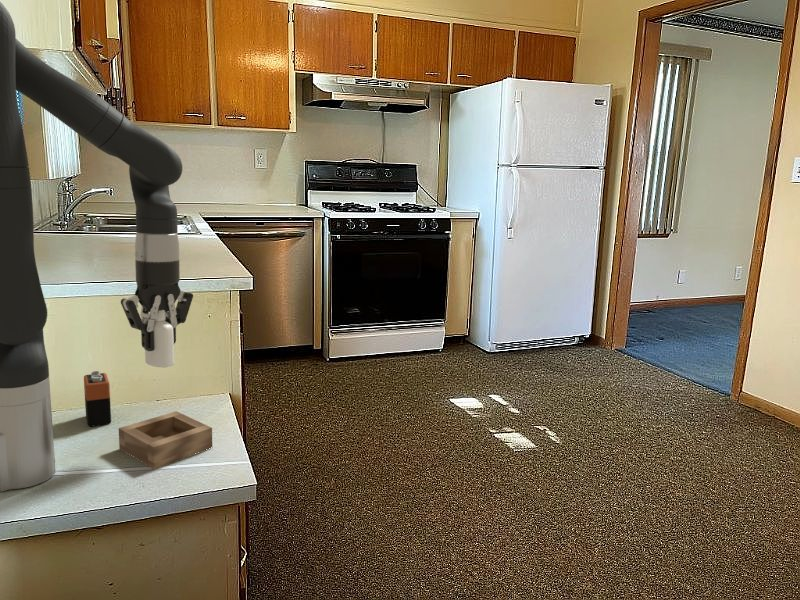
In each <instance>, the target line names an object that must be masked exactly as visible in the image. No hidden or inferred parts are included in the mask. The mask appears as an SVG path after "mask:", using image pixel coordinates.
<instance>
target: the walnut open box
mask: <svg viewBox="0 0 800 600" xmlns="http://www.w3.org/2000/svg"><path fill="white" fill-rule="evenodd" d="M118 445H119V446H118V448H119V450H120V451H122V452H124V453H125V452H126V454H127V453H128V455H129V454H130V455H129V456H131V455H132V456H134V457H135V458H134V457H133V458H134V459H136V458H137V459H139V460H140V461H139V460H138V461H139V462H141V461H142V462H143V464H144V465H146V466H148V467H149V468H151V469H153V470H156V469H159V468H162V467H165V466H167V465H171V464H173V463H176V462H178V460H179V461H181V459H182V460H184V459H187V458H189V457H188V456H190V455H193V454H195V453H198V452H201V451H204V450H206V449H209V448H211V447H212V448H213V427H211V426H209V425H207V424H204V423H203V422H200V421H198V420H196V419H194V418H192V417H191V416H187V415H185V414H184V413H181V412H179V411H173V412H169V413H165V414H162V415H159V416H155V417H151V418H149V419H145V420H141V421H139V422H135V423H134V422H133V423H132V424H128V425H124V426H122V427H118ZM209 450H210V449H209ZM206 451H207V450H206ZM204 452H205V451H204ZM201 453H202V452H201ZM198 454H199V453H198ZM195 455H196V454H195ZM132 456H131V457H132ZM193 456H194V455H193ZM186 457H187V458H186ZM190 457H191V456H190ZM183 458H184V459H183ZM137 459H136V460H137ZM142 462H141V463H142Z"/></svg>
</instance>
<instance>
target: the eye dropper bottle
mask: <svg viewBox="0 0 800 600" xmlns="http://www.w3.org/2000/svg"><path fill="white" fill-rule="evenodd" d="M165 320H166V315H165V310H160V311H159V313H157V318H156V320H155V321H154V326H153V330H152V331H153V332H154V350H153V351H147V350H145V349H144V355H145V356H144V357H145V363H146V364H147V365H148V366H151V367H156V368H168V367H172V366H173V365H175V347H174V346H175V343H174V336H173V327H172V326H171V324H169V323H168V322H166V321H165Z"/></svg>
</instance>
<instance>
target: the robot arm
mask: <svg viewBox="0 0 800 600" xmlns="http://www.w3.org/2000/svg"><path fill="white" fill-rule="evenodd" d="M16 34H17V33H16V28H15V23H14V21H13V18H12V16H11V14H10V12H9V10H7V8H6V7H5V6H4V4H3V3H2V2H1V1H0V492H5V491H9V490H18V489H25V488H29V487H34V486H37V485H40V484H42V483H44V482H46V481H47V480H50V479H51V478H52V477H53V476H54V475H55V473H56V457H55V455H56V454H55V443H54V431H53V430H54V429H53V428H54V427H53V415H52V414H53V413H52V398H51V383H50V382H51V381H50V368H49V360H48V359H49V358H48V356H47V351H46V345H45V339H44V338H45V337H44V328H45V326H46V323H47V321H48V320H47V319H48V308H47V303H46V299H45V295H44V293H43V290H42V289H43V288H42V286H41V280H40V277H39V272H38V267H37V261H36V256H35V243H34V242H35V240H34V237H35V233H34V231H35V230H34V225H35V224H34V223H35V222H34V207H33V194H32V193H33V191H32V182H31V181H32V180H31V173H30V167H29V166H30V165H29V158H28V153H27V147H26V140H25V136H24V129H23V124H22V123H23V122H22V118H21V115H20V114H21V113H20V109H19V103H18V98H17V92H19V93H20V94H22V95H24V96H25V97H27V98H28V99H29V100H31V101H33V102H34V103H36V104H37V105H38V106H40V107H41V108H43V109H44V110H45V111H47V112H48V113H49V114H51V115H52V116H53V117H54V118H56V119H58V120H59V121H60V122H61V123H63V124H64V125H65V126H67V127H69V128H70V129H71V130H73V131H74V132H75V133H76V134H78V135H79V136H81V137H82V138H83V139H85V140H86V141H87V142H89V144H91V145H93V146H94V147H96V148H97V149H98V150H100V151H102V152H103V153H104V154H107V155H110V156H113V157H115V158H117V159H119V160H121V161H122V162H124V163H125V164H127V165H128V167H129V168H128V175H129V181H130V188H131V190H132V191H131V192H132V197H133V201H134V203H135V231H136V232H135V243H134V256H135V257H134V259H135V261H134V262H135V263H134V264H135V282H136V286H137V287H136V290H135V292H134V294H133V296H131V297H130V296H129V298H122V299H120V305H121V307H122V309H123V311H124V314H125V315H126V318H127V321H128V323H129V326H130V327H131V328H132V329H134V330H135V329H136V330H138V331H140V336H141V338H140V339H141V346H142V348H143V349H144V351H145V350H147V351H153V350H154V332H153V331H152V330H153V326H154V321H155V320H156V318H157V313H159V311H160V310H165V315H166V320H165V321H166V322H168V323H169V324H171V326H172V327H173V336H174V344H176V341H177V327H178V325H180V324H184V323H185V322H186V321H187V317H188V315H189V311H190V308H191V305H192V301H193V299H194V294H193V293H192V292H188V291H184V290H181V288H180V285H179V282H180V281H181V280H180V273H181V272H180V271H181V270H180V242H179V236H178V208H177V206H176V204H175V202H174V201H173V200H172V199H171V196H170V188H169V187H170V186H171V185H173V184H175V183H177V182H178V181H179V179H180V178H181V177H182V174H183V163H182V160H181V158H180V156H179V154H178V153H177V152H176V151H175V149H174V148H172V147H171V146H170V145H168V144H167V143H166V142H164V141H163V140H161V139H160V138H158V137H157V136H155V135H153V134H152V133H150V132H148V131H146V130H145V129H143V128H141V127H140V126H138V125H137V124H135V123H133V122H132V121H131V120H130V119H129V118H127V117H126V116H125V115H124V114H123V113H121V112H120V111H118V110H117V109H116V108H115V107H114V106H112V105H111V104H110V103H109V102H107V101H106V100H105V99H103V98H102V97H101V96H99V95H98V94H97V93H95V92H94V91H92V90H91V89H90V88H87V87H86V86H84V85H82V84H80V83H78V82H77V81H75V80H74V79H72V78H70V77H68V76H67V75H65V74H63V73H62V72H60V71H58V70H56V69H55V68H53V67H52V66H50V64H47V62H45V61H43V60H42V59H40V58H39V57H38V56H36V55H35V54H34V53H33V52H31V51H30V49H28V48H27V47H26V46H25V45H24V44H22V42H20V40H18V39H17V37H16ZM176 302H177V304H175V303H176ZM138 303H139V304H140V305H141V309H140V312H139V310H138V308H139V304H138Z"/></svg>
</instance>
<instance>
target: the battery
mask: <svg viewBox="0 0 800 600" xmlns="http://www.w3.org/2000/svg"><path fill="white" fill-rule="evenodd" d="M110 386H111V384H110V381H109V378H108V375H107V373H105V372H103V373H102V372H100V371H98V370H93V371H91V374H85V375H84V376H83V387H84V406H85V416H86V424H87V426H88V427H95V426H102V425H103V426H104V425H110V424H111V422H112V410H111V388H110Z"/></svg>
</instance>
